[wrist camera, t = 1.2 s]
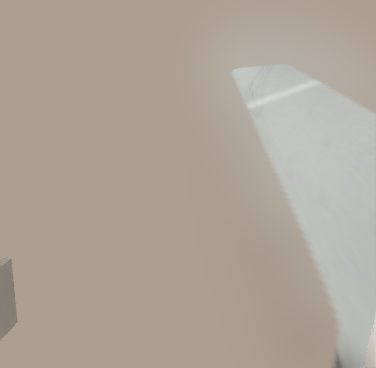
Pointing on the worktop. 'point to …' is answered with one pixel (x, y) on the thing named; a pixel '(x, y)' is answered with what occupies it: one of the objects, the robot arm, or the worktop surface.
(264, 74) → the worktop surface
